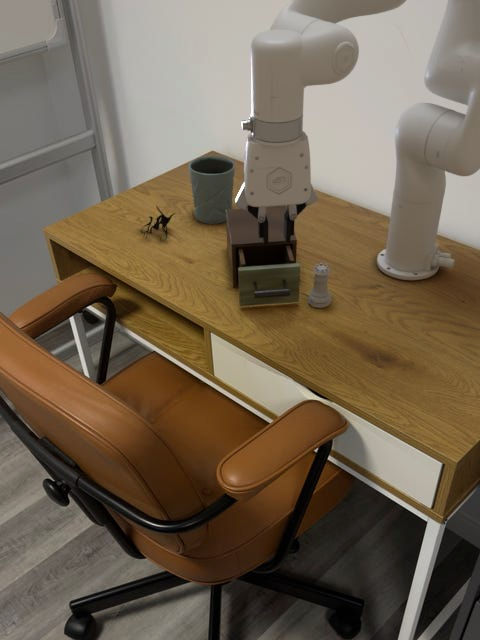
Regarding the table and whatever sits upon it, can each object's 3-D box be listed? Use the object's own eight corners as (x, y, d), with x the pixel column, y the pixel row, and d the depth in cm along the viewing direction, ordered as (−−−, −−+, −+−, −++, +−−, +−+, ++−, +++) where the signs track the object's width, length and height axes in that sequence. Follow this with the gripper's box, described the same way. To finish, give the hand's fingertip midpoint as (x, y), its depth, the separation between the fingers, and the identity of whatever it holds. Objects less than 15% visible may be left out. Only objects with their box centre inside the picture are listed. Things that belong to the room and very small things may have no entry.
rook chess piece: (330, 310, 134) (332, 273, 129) (306, 308, 135) (308, 271, 129) (332, 297, 137) (334, 261, 132) (309, 295, 138) (311, 259, 133)
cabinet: (295, 283, 142) (296, 239, 135) (233, 287, 141) (231, 244, 134) (285, 247, 152) (286, 205, 146) (227, 251, 152) (225, 209, 145)
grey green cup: (186, 211, 166) (181, 160, 157) (225, 201, 169) (223, 151, 160) (203, 229, 159) (199, 177, 151) (243, 219, 162) (242, 168, 154)
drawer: (302, 315, 132) (304, 279, 126) (242, 319, 131) (241, 283, 126) (288, 265, 145) (289, 231, 139) (233, 269, 144) (232, 234, 139)
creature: (158, 249, 155) (183, 229, 158) (152, 230, 151) (177, 209, 154) (134, 238, 159) (158, 218, 162) (127, 219, 154) (152, 199, 157)
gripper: (223, 140, 100) (228, 255, 113) (337, 132, 101) (329, 247, 114) (219, 120, 106) (224, 232, 118) (327, 114, 107) (321, 225, 119)
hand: (276, 239), depth 116 cm, fingers open, 3 cm apart
